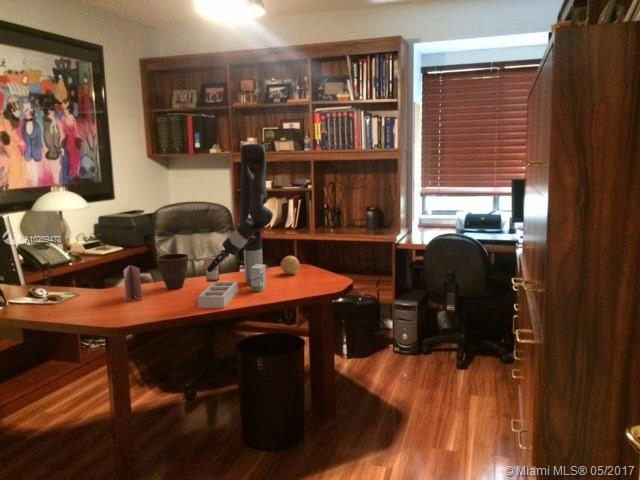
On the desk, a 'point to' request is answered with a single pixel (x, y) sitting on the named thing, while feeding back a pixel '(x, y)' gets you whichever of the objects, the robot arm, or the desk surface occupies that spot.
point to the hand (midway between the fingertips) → (210, 269)
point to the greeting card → (132, 282)
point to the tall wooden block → (212, 275)
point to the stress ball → (290, 264)
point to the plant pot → (173, 269)
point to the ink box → (258, 277)
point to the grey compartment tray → (217, 300)
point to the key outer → (214, 295)
